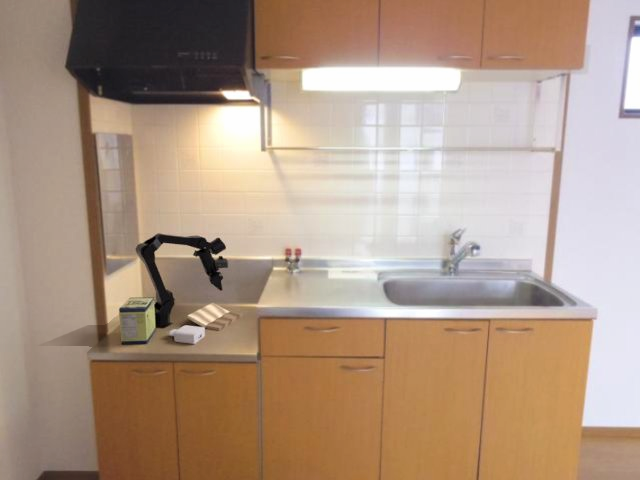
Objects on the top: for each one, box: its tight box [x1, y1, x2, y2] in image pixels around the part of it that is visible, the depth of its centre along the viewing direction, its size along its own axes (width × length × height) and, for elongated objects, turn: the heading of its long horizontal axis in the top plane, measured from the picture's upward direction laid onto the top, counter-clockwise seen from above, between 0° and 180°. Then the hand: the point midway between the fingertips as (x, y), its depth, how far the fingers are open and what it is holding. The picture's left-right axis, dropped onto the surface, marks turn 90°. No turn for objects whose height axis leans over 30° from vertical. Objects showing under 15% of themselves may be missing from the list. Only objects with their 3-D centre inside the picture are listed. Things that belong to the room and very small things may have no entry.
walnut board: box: [205, 311, 243, 332], centre depth 216 cm, size 20×7×2 cm, turn 160°
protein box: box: [118, 296, 156, 345], centre depth 196 cm, size 10×16×16 cm
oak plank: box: [186, 302, 230, 329], centre depth 218 cm, size 20×10×2 cm, turn 160°
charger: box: [166, 325, 206, 345], centre depth 196 cm, size 5×9×15 cm
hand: (219, 286), depth 227 cm, fingers open, 9 cm apart
